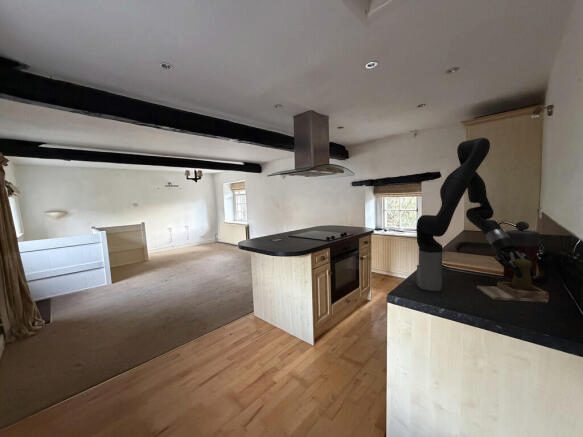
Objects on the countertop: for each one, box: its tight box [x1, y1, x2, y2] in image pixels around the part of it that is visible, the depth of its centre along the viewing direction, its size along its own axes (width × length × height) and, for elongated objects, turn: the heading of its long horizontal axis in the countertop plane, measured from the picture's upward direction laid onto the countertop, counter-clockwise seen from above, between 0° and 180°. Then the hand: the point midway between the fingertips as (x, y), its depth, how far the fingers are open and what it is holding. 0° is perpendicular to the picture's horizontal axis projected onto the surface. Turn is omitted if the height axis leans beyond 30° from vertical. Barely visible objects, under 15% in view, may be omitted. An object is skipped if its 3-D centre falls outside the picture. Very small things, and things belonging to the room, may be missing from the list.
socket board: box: [476, 281, 550, 303], centre depth 98 cm, size 18×12×4 cm, turn 78°
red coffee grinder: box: [503, 220, 540, 281], centre depth 116 cm, size 9×11×28 cm
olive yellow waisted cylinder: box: [511, 259, 533, 289], centre depth 96 cm, size 6×6×11 cm
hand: (526, 276), depth 94 cm, fingers closed on olive yellow waisted cylinder, 4 cm apart
